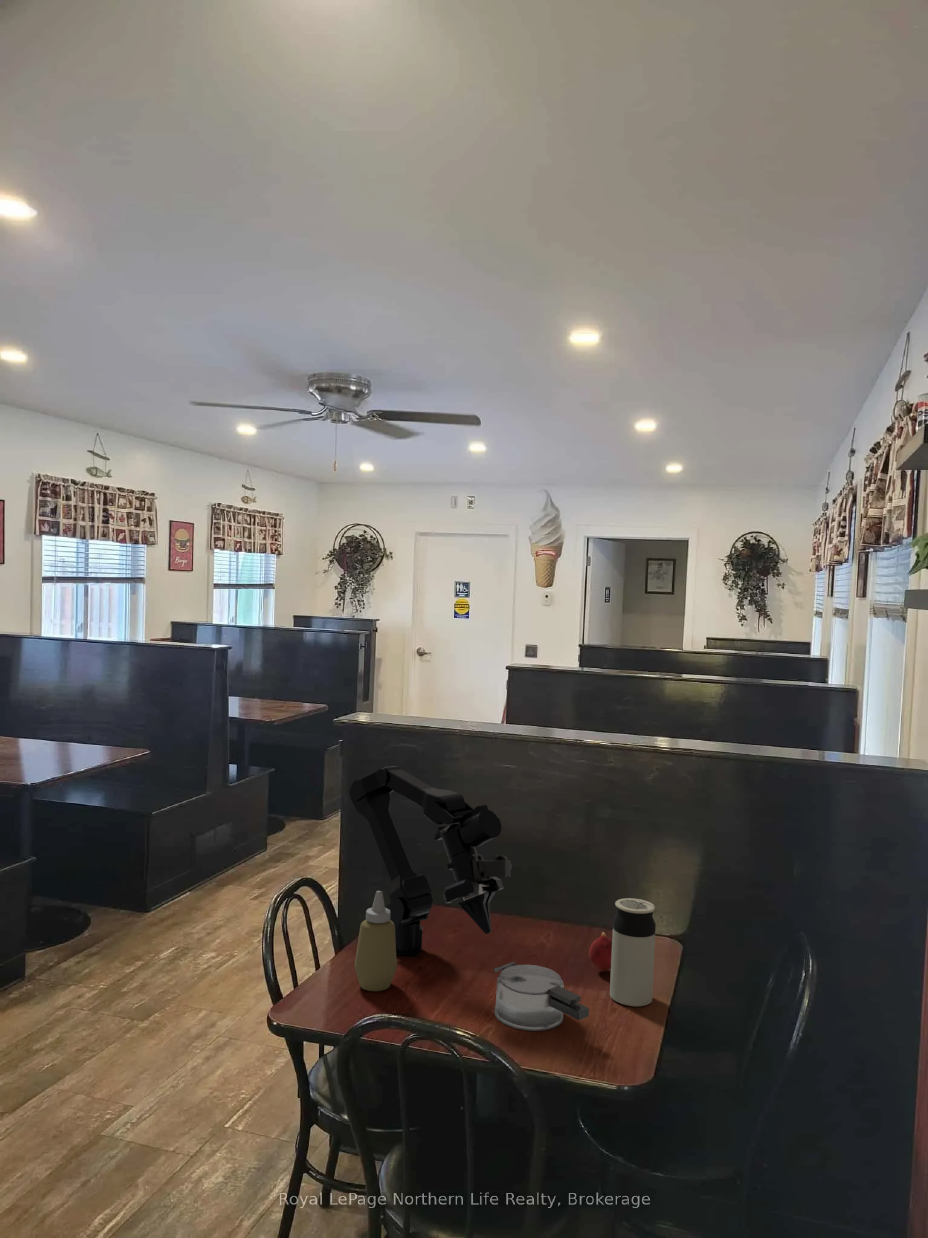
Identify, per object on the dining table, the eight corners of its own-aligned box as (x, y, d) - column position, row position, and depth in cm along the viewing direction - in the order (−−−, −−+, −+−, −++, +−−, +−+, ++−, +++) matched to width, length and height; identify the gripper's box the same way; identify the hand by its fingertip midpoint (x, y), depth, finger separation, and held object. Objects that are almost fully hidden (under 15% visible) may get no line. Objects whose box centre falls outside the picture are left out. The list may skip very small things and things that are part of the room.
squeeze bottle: (402, 981, 165) (406, 889, 165) (385, 998, 158) (390, 901, 158) (364, 974, 168) (369, 883, 168) (346, 990, 160) (350, 894, 160)
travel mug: (625, 1010, 157) (629, 913, 157) (601, 992, 165) (605, 899, 165) (660, 1004, 160) (665, 909, 160) (635, 987, 168) (640, 896, 168)
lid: (482, 975, 155) (482, 971, 155) (523, 961, 163) (523, 957, 163) (554, 1011, 142) (554, 1007, 142) (595, 994, 150) (596, 990, 150)
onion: (622, 972, 174) (624, 933, 174) (606, 980, 170) (608, 940, 170) (598, 964, 178) (600, 925, 178) (582, 971, 174) (584, 932, 174)
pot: (480, 1011, 154) (481, 978, 154) (527, 993, 162) (529, 962, 162) (558, 1053, 140) (559, 1017, 140) (605, 1032, 149) (607, 997, 149)
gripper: (482, 839, 159) (511, 922, 154) (512, 840, 176) (539, 915, 171) (430, 860, 162) (457, 943, 156) (465, 859, 179) (490, 934, 173)
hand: (488, 933), depth 164 cm, fingers closed
